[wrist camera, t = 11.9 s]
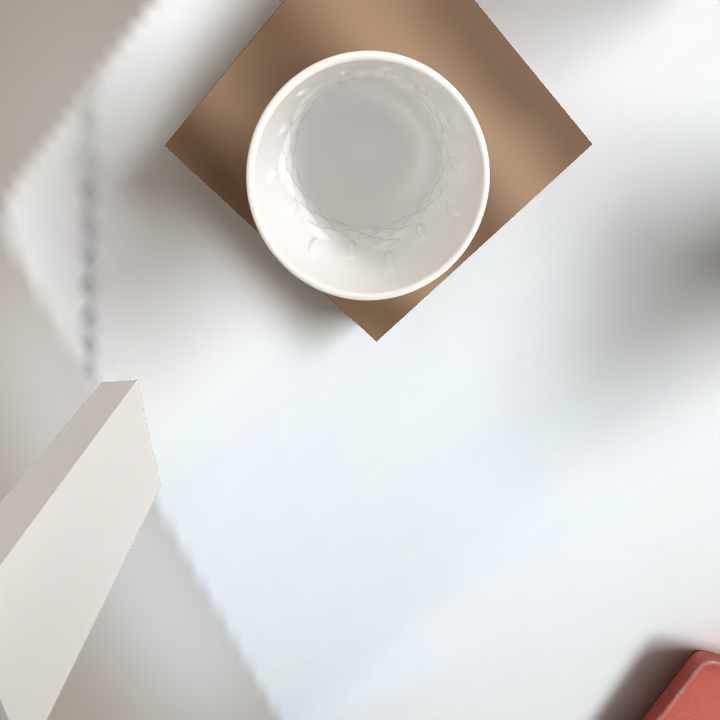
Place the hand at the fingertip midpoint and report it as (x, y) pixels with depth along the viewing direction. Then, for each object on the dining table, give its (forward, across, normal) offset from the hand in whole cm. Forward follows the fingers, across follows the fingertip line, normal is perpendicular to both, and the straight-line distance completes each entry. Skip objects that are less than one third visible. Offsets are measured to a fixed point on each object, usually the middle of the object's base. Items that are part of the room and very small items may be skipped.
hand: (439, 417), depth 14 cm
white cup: (+19, -1, +4) cm, 20 cm away
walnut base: (+23, -1, +4) cm, 23 cm away
